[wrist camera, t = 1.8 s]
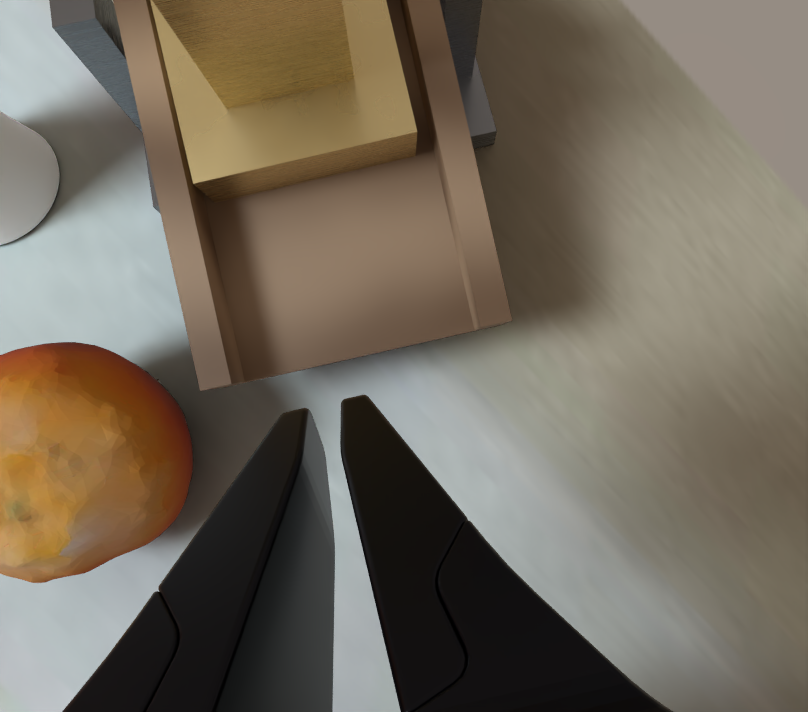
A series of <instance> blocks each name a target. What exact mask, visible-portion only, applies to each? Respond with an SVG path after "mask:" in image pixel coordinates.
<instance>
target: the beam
mask: <svg viewBox="0 0 808 712" xmlns="http://www.w3.org/2000/svg"><path fill="white" fill-rule="evenodd" d="M113 2H114V6H115V11H116V15H117V20H118V24H119V29H120V33H121V38H122V42H123V47H124V51H125V56H126V60H127V65H128V69H129V74H130V78H131V83H132V87H133V92H134V96H135V101H136V105H137V110H138V114H139V119H140V123H141V128H142V132H143V137H144V141H145V146H146V150H147V155H148V159H149V164H150V168H151V173H152V177H153V182H154V186H155V191H156V195H157V199H158V204H159V208H160V213H161V217H162V222H163V226H164V231H165V235H166V240H167V244H168V249H169V253H170V258H171V262H172V267H173V271H174V276H175V280H176V285H177V289H178V294H179V298H180V303H181V307H182V312H183V316H184V321H185V325H186V330H187V334H188V339H189V343H190V348H191V352H192V357H193V361H194V366H195V370H196V375H197V379H198V384H199V388H200V391H203V390H210V389H217V388H224V387H229V386H233V385H238V384H242V383H246V382H251V381H255V380H260V379H264V378H269V377H273V376H277V375H282V374H286V373H291V372H295V371H300V370H304V369H309V368H313V367H317V366H322V365H326V364H331V363H335V362H340V361H344V360H349V359H353V358H357V357H362V356H366V355H371V354H375V353H380V352H384V351H388V350H393V349H397V348H402V347H406V346H411V345H415V344H420V343H424V342H428V341H433V340H437V339H442V338H446V337H451V336H455V335H459V334H464V333H468V332H473V331H477V330H482V329H486V328H491V327H495V326H499V325H502V324H504V323H507V322H510V321H512V317H511V313H510V309H509V304H508V300H507V295H506V291H505V287H504V282H503V278H502V273H501V269H500V265H499V260H498V256H497V251H496V247H495V242H494V238H493V234H492V229H491V225H490V220H489V216H488V212H487V207H486V203H485V198H484V194H483V190H482V185H481V181H480V176H479V172H478V168H477V163H476V159H475V154H474V150H473V146H472V141H471V137H470V132H469V128H468V124H467V119H466V115H465V110H464V106H463V102H462V97H461V93H460V88H459V84H458V80H457V75H456V71H455V66H454V62H453V58H452V53H451V49H450V44H449V40H448V36H447V31H446V27H445V22H444V18H443V14H442V9H441V5H440V0H386V2H387V6H388V10H389V14H390V19H391V23H392V27H393V31H394V36H395V40H396V44H397V48H398V52H399V57H400V61H401V65H402V69H403V73H404V78H405V82H406V86H407V90H408V94H409V99H410V103H411V107H412V111H413V116H414V120H415V124H416V128H417V142H416V155H415V156H414V157H410V158H406V159H401V160H397V161H393V162H388V163H384V164H380V165H376V166H371V167H367V168H363V169H358V170H354V171H350V172H345V173H341V174H337V175H333V176H328V177H324V178H320V179H315V180H311V181H307V182H302V183H298V184H294V185H290V186H285V187H281V188H277V189H272V190H268V191H264V192H259V193H255V194H251V195H247V196H242V197H238V198H234V199H229V200H225V201H221V202H216V203H215V202H214V201H213V200H212V199H210V198H209V197H208V196H207V195H206V194H205V193H203V192H202V191H201V190H200V189H199V188H198V187H196V186H195V185H194V184H193V181H192V176H191V172H190V168H189V164H188V159H187V155H186V151H185V147H184V142H183V138H182V134H181V129H180V125H179V121H178V117H177V112H176V108H175V104H174V100H173V95H172V91H171V87H170V83H169V78H168V74H167V70H166V65H165V61H164V57H163V53H162V48H161V44H160V40H159V36H158V31H157V27H156V23H155V18H154V14H153V10H152V6H151V1H150V0H113Z"/></svg>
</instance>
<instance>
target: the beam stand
mask: <svg viewBox="0 0 808 712" xmlns="http://www.w3.org/2000/svg"><path fill="white" fill-rule="evenodd" d="M49 1H50V9H51V18H52V27H53V29H54V30H55V31H56V32H57V33H58V34H59V36H60V37H61V38H62V39H63V40H64V41H65V43H66V44H67V45H68V46H69V47H70V48H71V50H72V51H73V52H74V53H75V54H76V56H77V57H78V58H79V59H80V60H81V61H82V63H83V64H84V65H85V66H86V67H87V68H88V70H89V71H90V72H91V73H92V74H93V75H94V77H95V78H96V79H97V80H98V81H99V83H100V84H101V85H102V86H103V87H104V88H105V90H106V91H107V92H108V93H109V94H110V95H111V97H112V98H113V99H114V100H115V101H116V102H117V104H118V105H119V106H120V107H121V108H122V110H123V111H124V112H125V113H126V114H127V115H128V117H129V118H130V119H131V120H132V121H133V122H134V124H135V125H136V126H137V127H138V128H139V129H140V131H141V132H142V128H141V123H140V119H139V114H138V110H137V105H136V101H135V96H134V92H133V87H132V83H131V78H130V74H129V69H128V65H127V60H126V56H125V51H124V47H123V42H122V38H121V33H120V29H119V24H118V20H117V15H116V11H115V6H114V3H113V2H112V0H49ZM440 5H441V9H442V14H443V18H444V22H445V27H446V31H447V36H448V40H449V44H450V49H451V53H452V58H453V62H454V66H455V71H456V75H457V80H458V84H459V88H460V93H461V97H462V102H463V106H464V110H465V115H466V119H467V124H468V128H469V132H470V137H471V141H472V146H473V149H474V148H479V147H483V146H488V145H492V144H494V140H495V136H496V132H497V130H496V127H495V123H494V120H493V116H492V113H491V109H490V106H489V102H488V99H487V95H486V92H485V88H484V85H483V81H482V78H481V74H480V71H479V67H478V64H477V60H476V57H475V53H476V45H477V37H478V30H479V22H480V15H481V7H482V0H440ZM142 133H143V132H142ZM143 138H144V137H143ZM144 145H145V141H144ZM145 152H146V159H147V166H148V173H149V180H150V187H151V193H152V200H153V207H154V208H155V209H156V210H157V211H158V212H159V213H160V208H159V204H158V199H157V195H156V191H155V186H154V182H153V177H152V173H151V168H150V164H149V159H148V155H147V150H146V146H145ZM160 214H161V213H160Z"/></svg>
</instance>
